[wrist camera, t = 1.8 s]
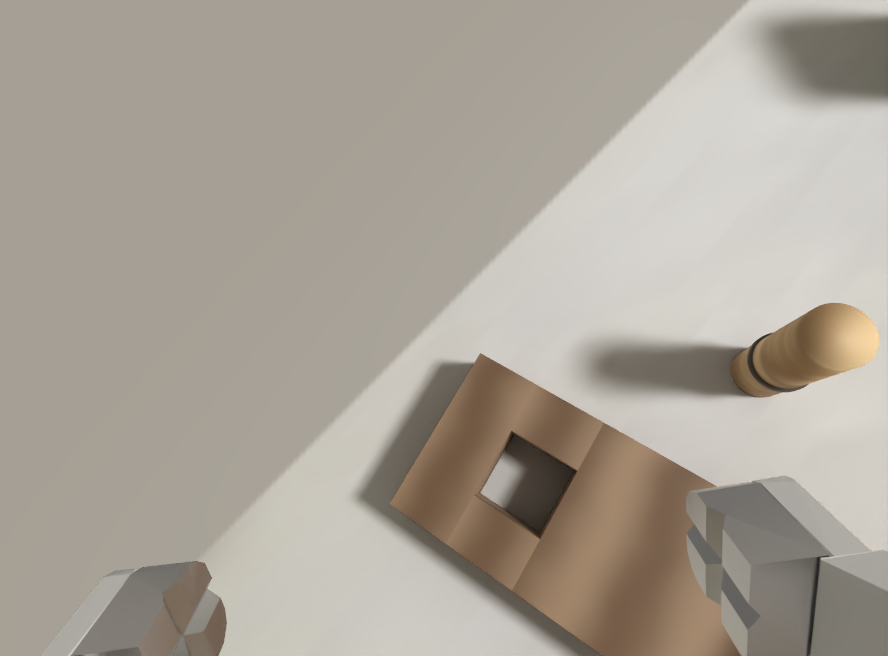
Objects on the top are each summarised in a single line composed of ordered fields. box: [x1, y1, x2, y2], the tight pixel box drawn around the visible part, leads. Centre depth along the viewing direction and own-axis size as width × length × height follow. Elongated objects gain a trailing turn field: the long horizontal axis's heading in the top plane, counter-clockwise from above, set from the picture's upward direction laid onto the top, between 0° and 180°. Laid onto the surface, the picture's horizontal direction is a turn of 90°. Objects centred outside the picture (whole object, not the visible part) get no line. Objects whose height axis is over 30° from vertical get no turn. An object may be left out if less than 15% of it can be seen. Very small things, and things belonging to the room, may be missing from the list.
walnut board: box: [390, 353, 741, 656], centre depth 33 cm, size 22×12×4 cm, turn 58°
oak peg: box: [731, 303, 879, 397], centre depth 30 cm, size 4×4×10 cm
